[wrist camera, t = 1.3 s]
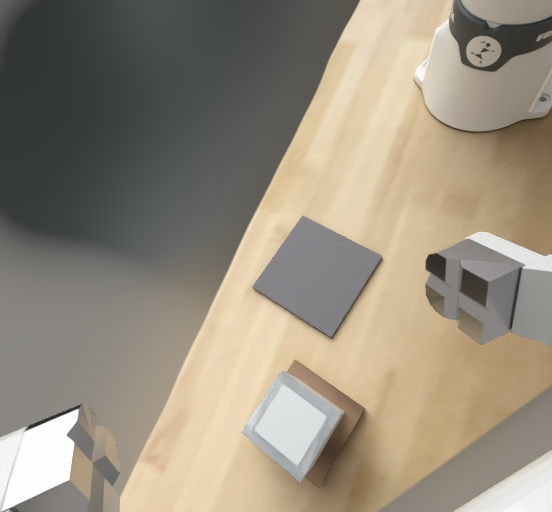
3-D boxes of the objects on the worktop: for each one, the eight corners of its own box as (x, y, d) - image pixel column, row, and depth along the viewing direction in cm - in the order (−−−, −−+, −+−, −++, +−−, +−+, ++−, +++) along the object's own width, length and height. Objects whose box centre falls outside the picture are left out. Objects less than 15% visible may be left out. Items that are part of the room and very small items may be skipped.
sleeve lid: (298, 378, 40) (281, 370, 31) (344, 412, 38) (340, 413, 29) (268, 426, 39) (241, 432, 30) (314, 464, 37) (300, 482, 28)
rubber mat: (303, 217, 50) (302, 215, 49) (381, 257, 45) (382, 256, 45) (253, 287, 47) (252, 286, 47) (331, 338, 43) (331, 337, 42)
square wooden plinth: (296, 360, 43) (288, 354, 38) (364, 408, 39) (365, 408, 34) (253, 429, 41) (238, 432, 36) (320, 485, 37) (314, 497, 32)
